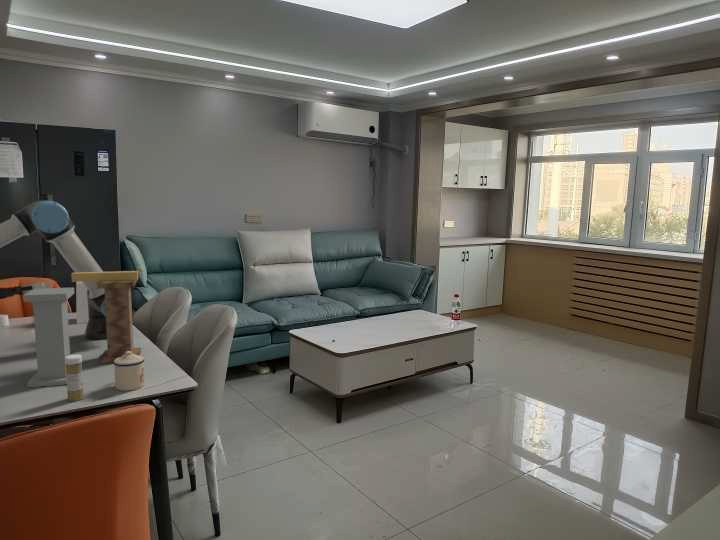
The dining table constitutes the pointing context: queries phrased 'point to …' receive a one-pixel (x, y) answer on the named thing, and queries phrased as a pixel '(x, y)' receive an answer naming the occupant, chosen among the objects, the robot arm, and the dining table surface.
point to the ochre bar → (104, 276)
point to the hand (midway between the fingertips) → (47, 285)
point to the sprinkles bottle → (74, 377)
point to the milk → (81, 303)
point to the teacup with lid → (129, 372)
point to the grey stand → (50, 334)
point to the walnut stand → (118, 319)
